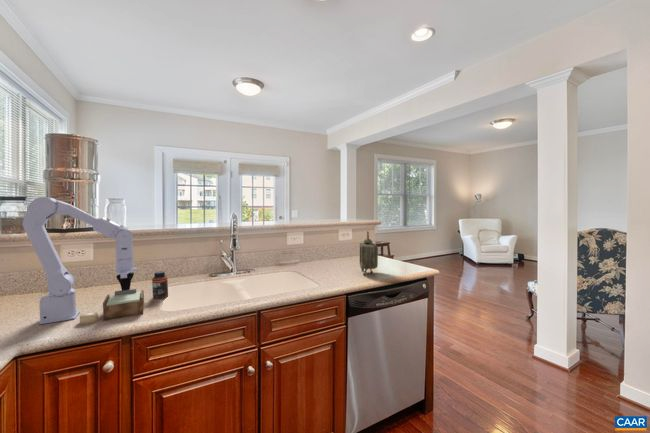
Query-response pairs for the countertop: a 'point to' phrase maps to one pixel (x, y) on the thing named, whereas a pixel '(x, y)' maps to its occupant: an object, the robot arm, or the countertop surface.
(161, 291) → the supplement bottle
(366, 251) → the green suitcase
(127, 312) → the box
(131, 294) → the lid
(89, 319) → the beige square block
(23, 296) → the countertop surface
